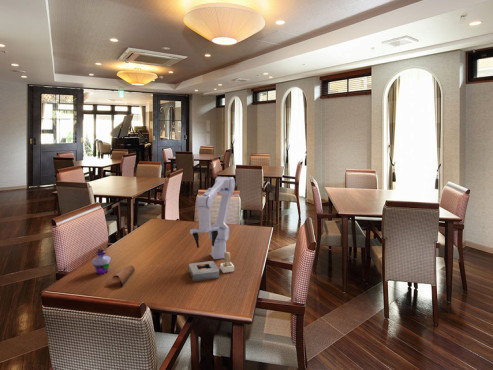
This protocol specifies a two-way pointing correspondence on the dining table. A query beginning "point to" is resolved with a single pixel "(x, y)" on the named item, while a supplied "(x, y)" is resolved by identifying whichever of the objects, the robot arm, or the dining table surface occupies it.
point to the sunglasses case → (120, 277)
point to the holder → (227, 268)
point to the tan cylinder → (226, 259)
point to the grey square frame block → (203, 271)
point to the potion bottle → (101, 261)
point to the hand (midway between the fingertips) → (205, 246)
